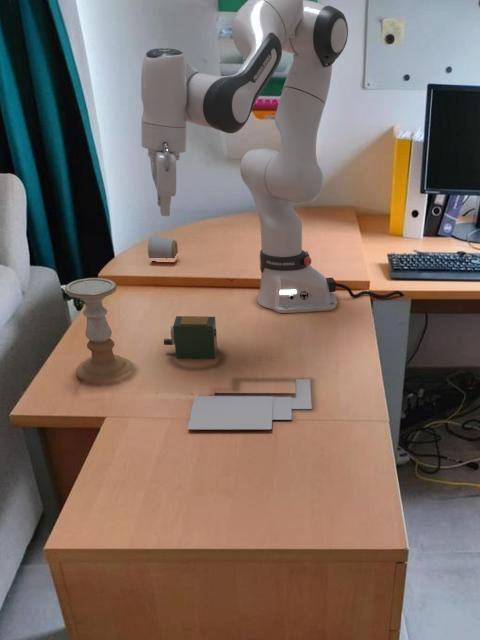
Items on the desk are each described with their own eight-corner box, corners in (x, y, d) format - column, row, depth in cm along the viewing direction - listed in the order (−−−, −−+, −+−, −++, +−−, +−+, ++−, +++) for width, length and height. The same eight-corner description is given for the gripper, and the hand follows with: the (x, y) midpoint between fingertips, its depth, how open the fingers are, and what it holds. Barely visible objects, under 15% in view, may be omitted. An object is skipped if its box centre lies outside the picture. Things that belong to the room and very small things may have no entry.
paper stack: (199, 379, 162) (198, 376, 161) (310, 379, 164) (310, 376, 163) (187, 432, 143) (187, 429, 142) (313, 432, 145) (313, 429, 144)
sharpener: (218, 348, 173) (216, 315, 168) (216, 358, 168) (214, 325, 164) (167, 347, 172) (163, 315, 168) (163, 358, 167) (159, 325, 163)
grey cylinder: (175, 266, 225) (173, 241, 220) (148, 265, 224) (146, 240, 220) (181, 256, 233) (179, 232, 229) (155, 255, 233) (153, 231, 229)
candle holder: (143, 365, 167) (131, 279, 155) (116, 388, 157) (102, 299, 145) (95, 357, 169) (80, 273, 158) (66, 380, 159) (47, 291, 148)
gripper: (184, 148, 139) (182, 222, 146) (175, 136, 156) (174, 203, 163) (150, 144, 137) (150, 219, 144) (145, 132, 154) (146, 200, 161)
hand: (163, 210), depth 154 cm, fingers open, 8 cm apart
